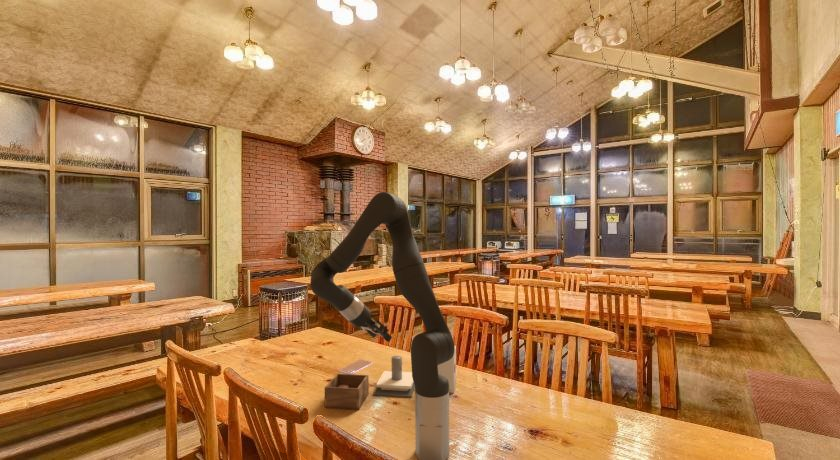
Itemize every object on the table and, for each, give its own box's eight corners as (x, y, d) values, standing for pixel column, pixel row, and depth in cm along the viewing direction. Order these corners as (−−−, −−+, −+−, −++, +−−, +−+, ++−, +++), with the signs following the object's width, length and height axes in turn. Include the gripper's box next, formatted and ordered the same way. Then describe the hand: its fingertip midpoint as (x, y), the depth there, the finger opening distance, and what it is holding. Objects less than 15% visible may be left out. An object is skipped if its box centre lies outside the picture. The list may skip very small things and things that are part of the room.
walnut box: (358, 409, 127) (358, 389, 127) (324, 407, 129) (324, 387, 129) (368, 394, 139) (368, 375, 139) (337, 392, 141) (337, 373, 141)
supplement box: (454, 393, 139) (454, 353, 139) (430, 391, 141) (429, 351, 141) (456, 383, 148) (456, 345, 148) (434, 381, 150) (433, 344, 149)
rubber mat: (411, 397, 136) (411, 396, 136) (373, 395, 138) (373, 393, 138) (418, 377, 154) (418, 376, 154) (384, 375, 156) (384, 374, 156)
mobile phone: (373, 361, 170) (351, 373, 157) (373, 363, 170) (351, 375, 157) (360, 358, 174) (337, 369, 161) (360, 360, 174) (337, 372, 161)
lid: (410, 393, 138) (410, 364, 138) (376, 391, 140) (375, 362, 140) (416, 378, 151) (415, 352, 151) (384, 377, 153) (384, 351, 153)
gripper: (372, 304, 125) (400, 331, 132) (349, 299, 135) (376, 325, 143) (359, 323, 121) (389, 350, 129) (336, 316, 132) (365, 342, 139)
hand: (382, 337), depth 136 cm, fingers open, 8 cm apart
